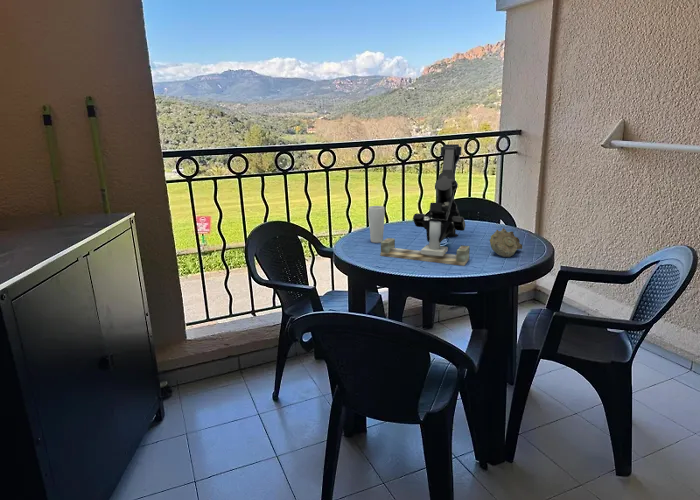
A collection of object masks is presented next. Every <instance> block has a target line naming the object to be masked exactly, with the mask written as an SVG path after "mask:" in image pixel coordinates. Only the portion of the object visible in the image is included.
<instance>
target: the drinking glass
mask: <svg viewBox="0 0 700 500" xmlns="http://www.w3.org/2000/svg"><path fill="white" fill-rule="evenodd" d="M385 210H386V209H385V206H384V205H371V206H369V207H368V210H367V211H368V214H367V215H368V216H367V217H368V225H369V235H370V238H369V239H370V242H371V243H373V244H381V242H382V241H384V231H385V230H384V228H385V216H386V215H385V213H386V212H385Z"/></svg>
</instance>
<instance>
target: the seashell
mask: <svg viewBox="0 0 700 500" xmlns="http://www.w3.org/2000/svg"><path fill="white" fill-rule="evenodd" d="M489 245H490V248H491V249H492V251H493V252H494V253H496V254H497V255H499V256H500V257H503V258H504V257H506V258H510V257H513V256H514V255H515V253H516V252H517V250H522V249H523V243H520V238H519V237H517V236H515V234H514V231H513V230H511V231H507V229H505V228H504V227H503V228H501V230H498V229H496V230H495V232H494V233H493V234H491V236H490V239H489Z"/></svg>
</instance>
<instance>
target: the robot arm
mask: <svg viewBox="0 0 700 500" xmlns="http://www.w3.org/2000/svg"><path fill="white" fill-rule="evenodd" d="M440 156H442V160H443V161H442V163H443V164H442V169H441V170H442V171H441V172H440V173H439V174H438V177H437V180H436V181H435V183H434V190H435V191H436V197H437V198H436V202H430V203H429V209H428V211H429V212H430V216H431V217H430V216H426V214H425V213H414V214H413V217H412V221H413V222H414V225H415V227H417V228H423V229H424V230H426V240H427V242H429V233H430V221H440V222H441V235H440V238H439V243H440V244H441V243H442V242H443V240H444V239H445V238H453V237H458V234H457V233H456V231H459V232H463V231H465V229H466V222H465V218H464V217H463V216H460V213H461V212H459V211H460V210H459V209H458V205H457V204H456V202H455V199H454V198H455V191H456V190H457V189H458V188H459V184H458V181H457V180H456V166H457V163H459V161H460V158H461V157H460V156H462V146H460V144H459V143H457V144H455V143H454V144H452V143H451V144H449V143H446V144H444V145H443V146H440Z"/></svg>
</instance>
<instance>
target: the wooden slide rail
mask: <svg viewBox="0 0 700 500" xmlns="http://www.w3.org/2000/svg"><path fill="white" fill-rule="evenodd" d="M395 242H396V239H395V238H392V237H391V238H390V237H387V238H385V239H383V241H382V242H381V243H380V254H379V255H380V257H387V258H394V259H395V258H397V259H405V260H413V261H419V262H420V261H421V262H428V263H438V264H444V265H445V264H446V265H454V266H461V267H465V265H466V264H467V263H468V262H469V260H470V248H471V247H470V245H460V246H459V248H458V249H456V254H454V253H445V254H444V255H443V256H436V255H427V254H421V250H417V249H407V248H397V247H396V245H395V244H396V243H395Z"/></svg>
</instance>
